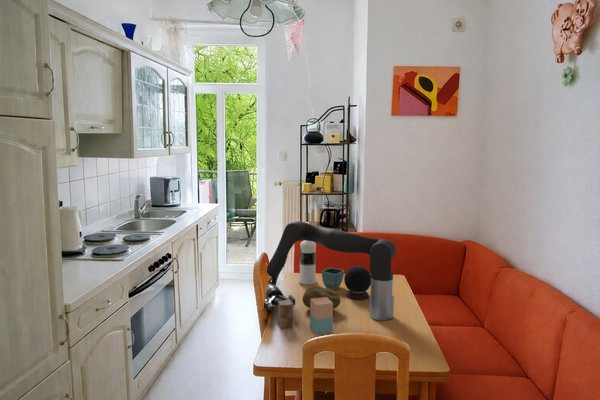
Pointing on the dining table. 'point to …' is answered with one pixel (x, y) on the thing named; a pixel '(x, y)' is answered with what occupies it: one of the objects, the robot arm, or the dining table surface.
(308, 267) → the vodka
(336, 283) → the flower pot
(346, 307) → the dining table surface
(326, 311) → the tower top
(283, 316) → the pillar
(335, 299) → the decorative stone
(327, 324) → the tower base
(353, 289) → the black ball on stand
